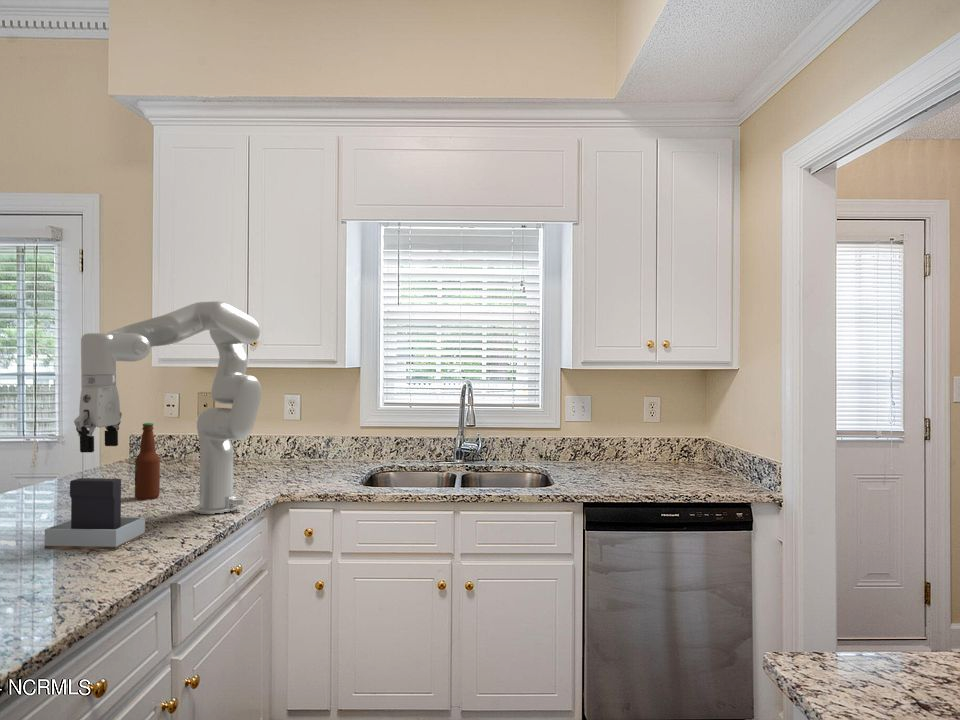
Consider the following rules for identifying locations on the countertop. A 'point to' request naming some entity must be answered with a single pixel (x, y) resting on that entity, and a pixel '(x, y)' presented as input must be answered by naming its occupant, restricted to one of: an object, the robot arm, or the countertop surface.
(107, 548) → the pen board
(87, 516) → the tall charcoal block
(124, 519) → the grey tray
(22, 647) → the countertop surface
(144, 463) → the bottle
